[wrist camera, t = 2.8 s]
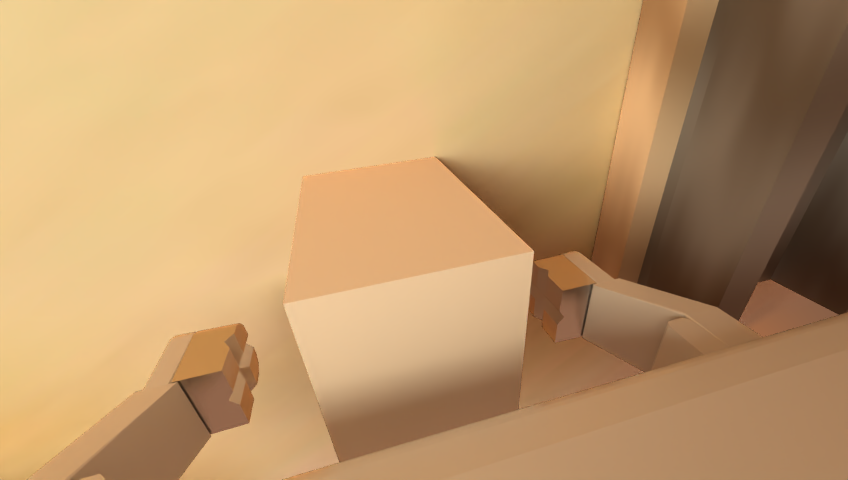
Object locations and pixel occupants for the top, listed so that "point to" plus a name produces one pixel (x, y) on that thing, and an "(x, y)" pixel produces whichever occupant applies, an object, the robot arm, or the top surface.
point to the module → (405, 304)
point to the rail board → (732, 153)
